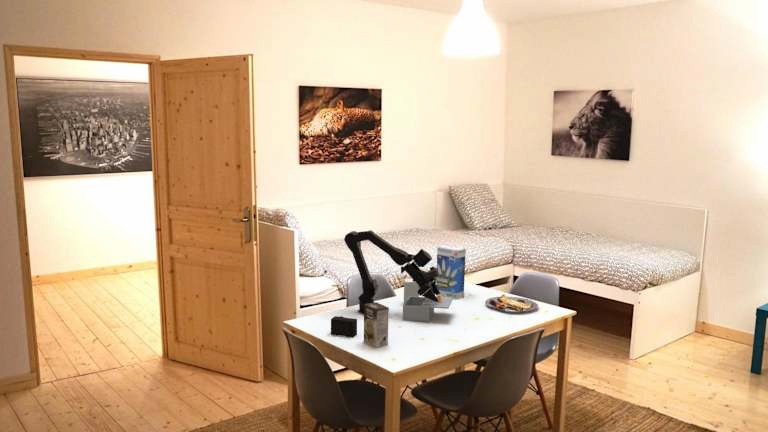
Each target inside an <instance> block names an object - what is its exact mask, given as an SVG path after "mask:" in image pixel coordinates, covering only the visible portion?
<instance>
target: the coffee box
mask: <svg viewBox="0 0 768 432" xmlns="http://www.w3.org/2000/svg"><path fill="white" fill-rule="evenodd" d="M389 311H390V309H389V306H386V305H384V304H381V303H378V302H376V301H374V303H368V304H364V314H363V342H364V343H366V344H368V345H370V346H372V347H373V348H375V349H378V347H379V348H383V347H386V346H389V315H390V313H389Z"/></svg>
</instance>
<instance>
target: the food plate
mask: <svg viewBox="0 0 768 432" xmlns="http://www.w3.org/2000/svg"><path fill="white" fill-rule="evenodd" d="M485 305H487V306H488V307H491V308H494V309H495V310H497V311H500V312H508V313H523V312H528V311H529V312H530V311H533V310H536V309H538V307H539V304H538V302H535V301H533V300H531V299H528V298H523V297H517V296H507V295H505V294H502V295H501V296H496V297H490V298H487V300H485Z"/></svg>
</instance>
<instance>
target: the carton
mask: <svg viewBox="0 0 768 432" xmlns="http://www.w3.org/2000/svg"><path fill="white" fill-rule="evenodd" d="M425 298H426V297H422V296H419V297H413V296H409V297H408V299H407V300H406V302H405V303H404V302H403V305H402V321H405V322H407V321H408V322H417V323H418V322H419V323H430V321H431V319H432V317H433V316H434V313H435V308H430V307H421V305H422V303H423V301H424V299H425Z"/></svg>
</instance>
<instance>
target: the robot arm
mask: <svg viewBox="0 0 768 432" xmlns="http://www.w3.org/2000/svg"><path fill="white" fill-rule="evenodd" d="M364 241H368V242H370V243H372V244H373V245H375V246H376V247H377V248H379V249H380V250H382V251H383V252H384V253H386V254H387V255H388V256H389V257H390V258H391V260H392V261H393V262H394V263H395V264H396V265H397V266H401V267H400V274H404V272H406V273H407V274H408V276H409V277H410V279H413V280H412V281H413V282H416V283H417V284H418V285H419V289H418V294H419V297H426V298H428V299H431V300H433V301H435V302H438V301H439V300H438V299H437V295H438V294H441V293H440V292H439V290H438V288H437V286H436V277H437V276H438V275H439V273H438V269H437V267H435V266H430V267H429V270H427V271H425V270H422V269H421V268H424V267H425V266H426V265H427V264H428V263H430V262H431V261H433V258H432V255H430V253H429V252H427V251H426V250H425V249H423V248H420V249H419V251H418V252H417V253H416V254H411V253H408V252H407V251H406V250H403V249H402V248H399V247H395V246H394V245H392V244H391V243H389V242H388V241H386V240H385V239H383V237H381V236H379V235H378V234H377V233H375V232H374V231H373V230H367V231H366V230H365V231H355V230H353V231H350V232H348V233H347V234H346V235H345V236H344V242H345V244H346V246H347V248H348V249H349V251H351V253H352V256H353V259H354V262H355V264H356V268H357V269H358V273H359V275H360V279H361V287H362V288H361V289H362V293H361V294H360V295H359V296H358V301H359V302H358V303H359V306H358V307H359V309H358V310H357V313H359V314H363V315H364V304H368V303H375V299H374V297H375V296H376V295H377V293H378V292H379V284H378V283H377V282H378V281H377V278H374V279H373V278H372V276H371V274H370V271H369V268H368V266H367V262H366V260H365V257H364V253H363V251H362V244H361V243H362V242H364Z"/></svg>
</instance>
